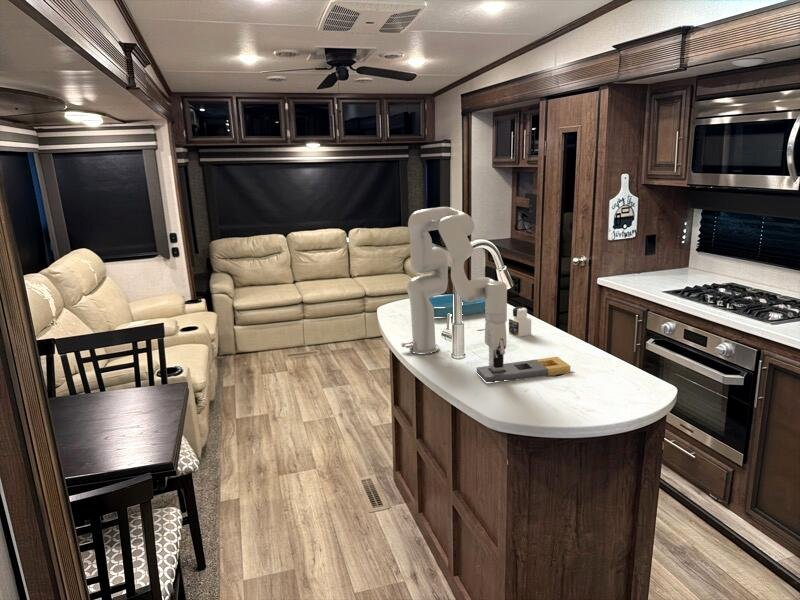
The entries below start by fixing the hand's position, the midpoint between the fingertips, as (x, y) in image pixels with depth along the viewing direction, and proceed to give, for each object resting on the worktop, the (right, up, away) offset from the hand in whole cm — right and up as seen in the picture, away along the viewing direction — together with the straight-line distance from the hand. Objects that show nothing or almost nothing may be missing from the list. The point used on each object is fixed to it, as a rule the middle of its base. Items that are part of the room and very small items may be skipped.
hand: (496, 364), depth 197 cm
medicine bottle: (+19, +8, +46) cm, 50 cm away
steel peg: (0, -3, +1) cm, 3 cm away
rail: (+10, -3, +3) cm, 11 cm away
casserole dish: (-7, +17, +86) cm, 88 cm away
